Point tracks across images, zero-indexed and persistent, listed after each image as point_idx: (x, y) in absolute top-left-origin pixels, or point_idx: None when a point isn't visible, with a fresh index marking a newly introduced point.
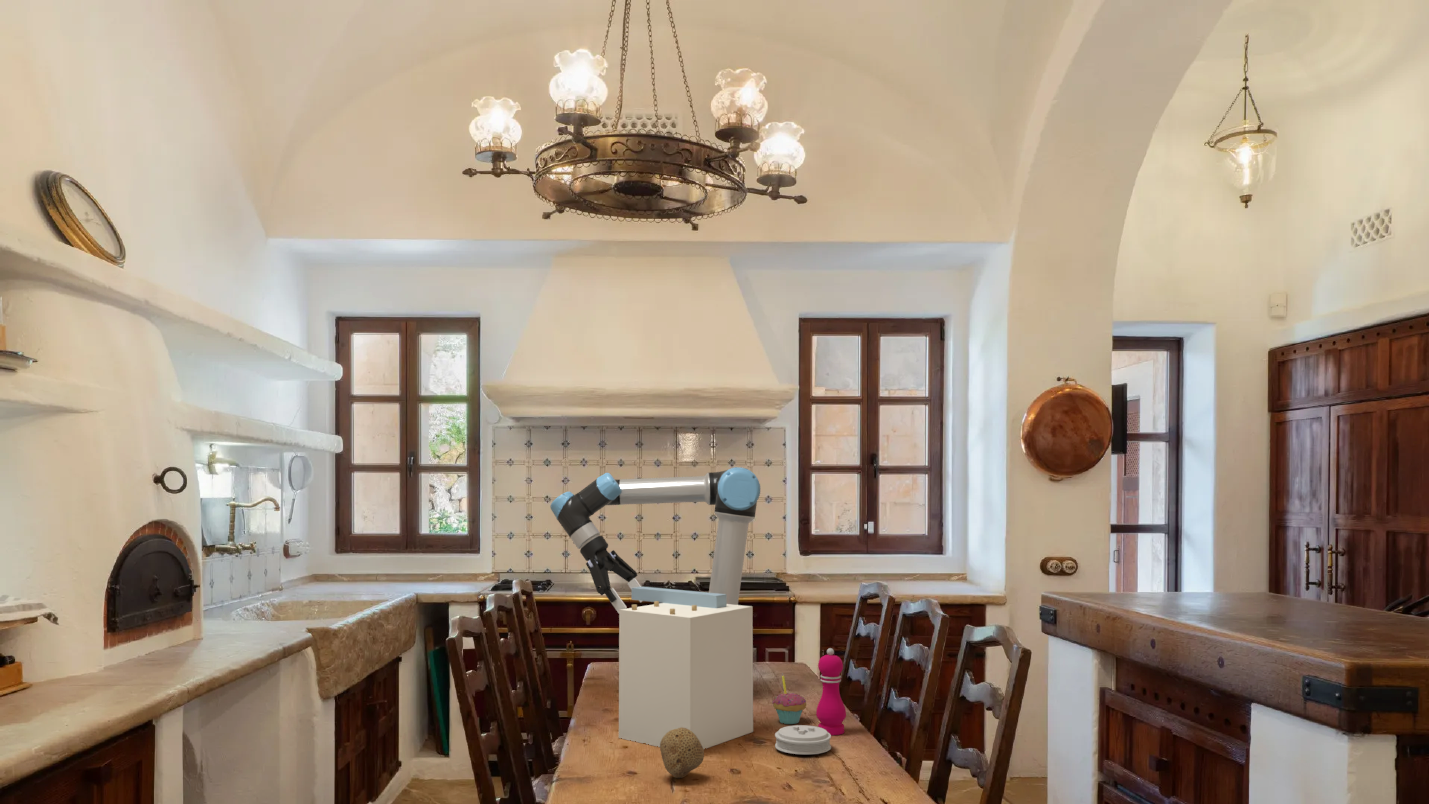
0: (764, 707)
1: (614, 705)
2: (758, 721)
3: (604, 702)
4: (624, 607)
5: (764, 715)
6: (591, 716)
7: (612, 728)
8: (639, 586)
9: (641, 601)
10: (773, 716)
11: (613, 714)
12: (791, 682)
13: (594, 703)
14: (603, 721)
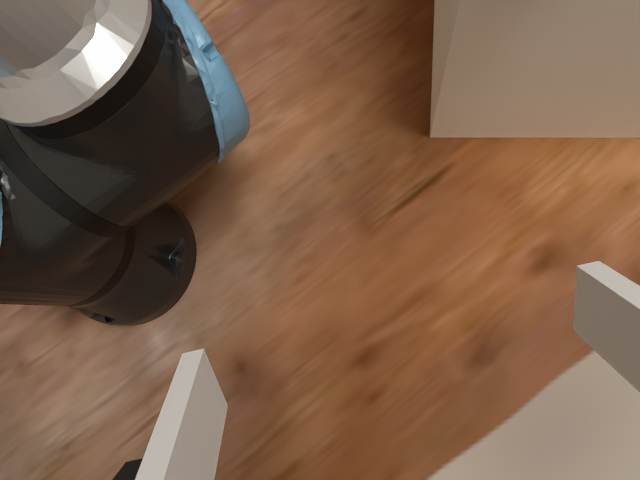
0: (246, 63)
1: (429, 366)
2: (356, 5)
3: (418, 416)
4: (607, 270)
5: (306, 25)
6: (568, 339)
7: (625, 209)
8: (175, 443)
9: (223, 397)
10: (303, 7)
11: (511, 302)
12: None
13: (446, 435)
14: None
